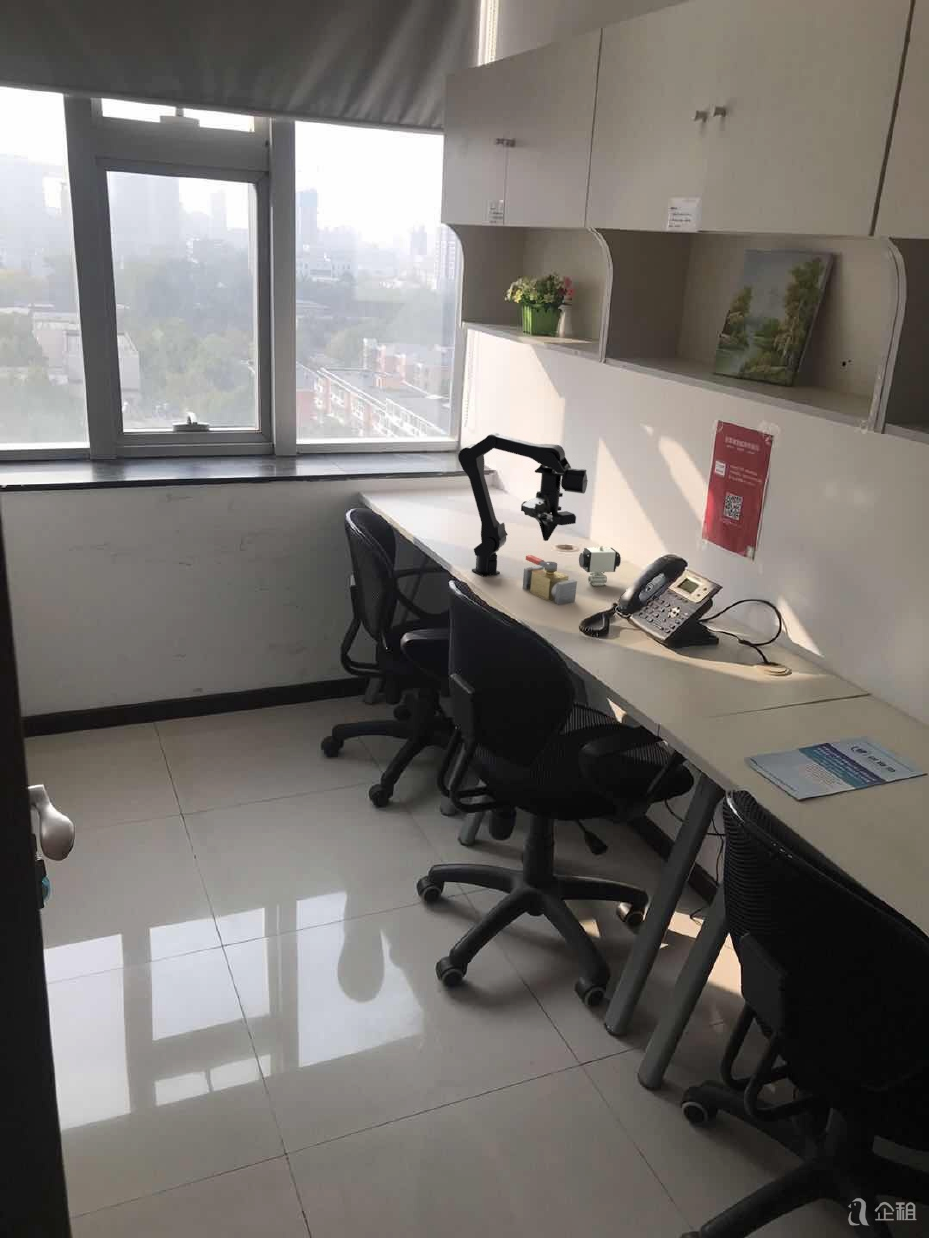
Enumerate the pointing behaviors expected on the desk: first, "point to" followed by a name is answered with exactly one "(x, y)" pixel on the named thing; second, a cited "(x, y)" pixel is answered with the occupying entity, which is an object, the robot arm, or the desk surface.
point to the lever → (543, 563)
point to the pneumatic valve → (599, 563)
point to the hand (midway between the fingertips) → (545, 540)
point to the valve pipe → (549, 585)
